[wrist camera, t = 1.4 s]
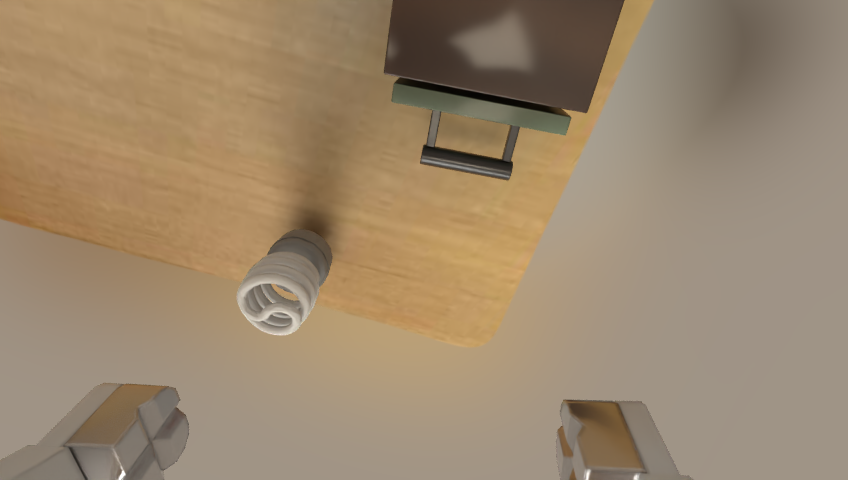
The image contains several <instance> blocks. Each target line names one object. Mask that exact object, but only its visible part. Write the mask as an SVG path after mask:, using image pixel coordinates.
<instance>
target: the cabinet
mask: <svg viewBox="0 0 848 480" xmlns="http://www.w3.org/2000/svg"><path fill="white" fill-rule="evenodd" d="M623 3H624V0H393V4H392V12H391V19H390V27H389V35H388V43H387V51H386V59H385V67H384V74H386V75H391V76H397V77H402V78H407V79H412V80H417V81H422V82H428V83H433V84H438V85H443V86H448V87H453V88H459V89H464V90H469V91H474V92H479V93H484V94H490V95H495V96H500V97H505V98H510V99H515V100H521V101H526V102H531V103H536V104H541V105H546V106H552V107H557V108H562V109H567V110H572V111H577V112H583V113H587V112H588V109H589V106H590V103H591V100H592V97H593V94H594V91H595V88H596V85H597V82H598V79H599V76H600V73H601V70H602V67H603V63H604V60H605V57H606V54H607V51H608V48H609V45H610V42H611V39H612V36H613V33H614V30H615V27H616V24H617V21H618V18H619V15H620V12H621V9H622V6H623Z"/></svg>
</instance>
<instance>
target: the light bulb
mask: <svg viewBox="0 0 848 480" xmlns="http://www.w3.org/2000/svg"><path fill="white" fill-rule="evenodd" d="M331 263H332V253H331V249H330V247H329V245H328V244H327V242H326V241H325V240H324V239H323V238H322V237H321V236H320V235H318V234H316V233H314V232H312V231H309V230H304V229H299V230H293V231H290V232H288V233H286V234H285V235H283V236H282V237H281V238H280V239H279V240H278V241H277V242H276V243H275V244H274V245H273V246H272V247H271V248H270V251H269V252H268V254H267V256H265V257H264V258H262V259H261V260H260V261H259V262H258V263H257V264H255V265H254V266H253V267H252V268H251V269H250V270H249V272H248V273H247V275H246V276H245V278H244V279H243V281H242V283H241V285H240V287H239V289H238V292H237V302H238V305H239V307H240V309H241V311H242V313H243V314H244V315H245V317H246V318H247V319H248V320H249V322H251V323H252V324H253V325H254V326H255V327H257V328H258V329H260V330H262V331H263V332H266V333H269V334H273V335H287V334H290V333H293V332H294V331H296V330H297V329H298V328H299V327H300V326H301V323H302V322H303V321H304V320H306V318H307V317H308V315H309V313H310V311H311V310H312V309H313V307H314V305H315V302H316V299H317V297H318V294H319V287H320V286H321V285H322V284H323V283H324V281H325V279H326V278H327V276H328V273H329V270H330V266H331ZM271 284H276V285H277V286H278V287H279V288H281V289H283V290H285V291H287V292H290V293H293V294H295V295H296V296H297V298H298V299H299V301H293V300H288V299H286V298H284V297H282V296H280V295H279V294H278V293H277V292H276V291H275V290H274V289H273V287H272V286H271ZM263 292H264V293H263ZM265 295H266V296H267V297H268V298H269V299H270V300H271V301H272V302H273V303H272V302H270V301H269V299H268V298H267V297H266V296H265ZM263 308H264V309H263Z"/></svg>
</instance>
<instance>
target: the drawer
mask: <svg viewBox="0 0 848 480" xmlns="http://www.w3.org/2000/svg"><path fill="white" fill-rule="evenodd" d="M392 102H394V103H399V104H404V105H409V106H415V107H420V108H425V109H430V110H433V111H432V116H431V122H430V127H429V133H428V138H427V144H426V145H425V144H424V145H423V150H422V155H421V161H420V164H424V165H429V166H434V167H440V168H445V169H450V170H455V171H461V172H466V173H471V174H476V175H482V176H487V177H492V178H497V179H503V180H509V179H510V176H511V173H512V168H513V162H512V161H511V158H512V155H513V151H514V147H515V143H516V140H517V136H518V132H519V129H520V127H524V128H529V129H534V130H539V131H544V132H550V133H555V134H560V135H566V133H567V130H568V127H569V123H570V120H571V117H570V116H569V115H568V114H567V113H566V112H565V111H564V110H562V109H561V108H557V107H552V106H546V105H541V104H536V103H531V102H526V101H521V100H515V99H510V98H505V97H500V96H495V95H490V94H484V93H479V92H474V91H469V90H464V89H459V88H453V87H448V86H443V85H438V84H433V83H428V82H422V81H417V80H412V79H407V78H402V77H400V78H399V79H398V80H397V81H396V82H395V83H394V86H393V93H392ZM441 112H446V113H451V114H456V115H461V116H467V117H472V118H477V119H482V120H487V121H492V122H498V123H503V124H508V125H510V129H509V132H508V136H507V140H506V144H505V148H504V152H503V155H502V159H498V158H493V157H487V156H482V155H477V154H472V153H466V152H461V151H456V150H451V149H446V148H440V147H435V142H436V137H437V131H438V126H439V121H440V116H441Z"/></svg>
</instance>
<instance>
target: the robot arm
mask: <svg viewBox="0 0 848 480" xmlns="http://www.w3.org/2000/svg"><path fill="white" fill-rule="evenodd" d="M179 401H180V398H179V395H178V393H177V391H176V388H173V387H169V386H155V385H138V384H115V383H103V384H100V385H98V386H96V387H94V388H93V389H92V390H91V391H90V392H89V393H88V394H87V395H86V396H85V397H84V398H83V399H82V400H81V401H80V402H79V403H78V404H77V405H76V406H75V407H74V408H73V409H72V410H71V411H70V412H69V413H68V414H67V415H66V416H65V417H64V418H63V419H62V420H61V421H60V422H59V423H58V424H57V425H56V426H55V427H54V428H53V429H52V430H51V431H50V432H49V433H48V434H47V435H46V436H45V437H44V438H43V439H42V440H41V441H40V442H39V443H38V444H37V445H28V446H26V447H24V448H22V449H20V450H18V451H16V452H15V453H13V454H11V455H9V456H7V457H5V458H3V459H1V460H0V480H164V470H165V469H167V468H168V467H170V466H171V465H172V464H174V463H175V462H177V460H178V459H179V457H180V455H181V454H182V452H183V451H184V449H185V446H186V442H187V439H188V435H189V424H188V420H187V418H186V415H185V414H184V413H183V412H181V411H180V410H179V409H178V408H177V407H176V406H177V405H178V403H179ZM560 416H561V420H562V424H563V426H561V427H560V428H559V429H558V431H557V439H556V457H557V464H558V470H559V475H560V479H561V480H693V479H692V478H691V477H690V476H684V475H680V474H679V472H678V470H677V468H676V466H675V464H674V461H673V459H672V457H671V456H670V453H669V451H668V449H667V447H666V445H665V443H664V441H663V439H662V437H661V435H660V433H659V431H658V429H657V427H656V425H655V423H654V421H653V419H652V417H651V415H650V413H649V411H648V409H647V407H646V405H645V404H643V403H642V402H640V401H600V400H599V401H597V400H563V402H562V404H561V410H560Z"/></svg>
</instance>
